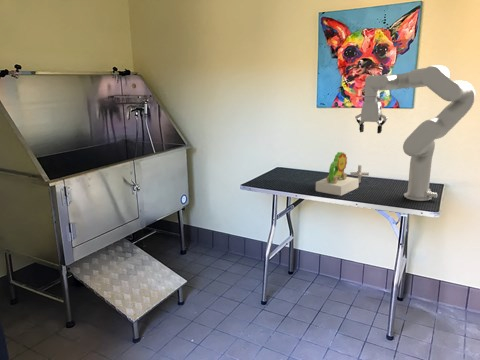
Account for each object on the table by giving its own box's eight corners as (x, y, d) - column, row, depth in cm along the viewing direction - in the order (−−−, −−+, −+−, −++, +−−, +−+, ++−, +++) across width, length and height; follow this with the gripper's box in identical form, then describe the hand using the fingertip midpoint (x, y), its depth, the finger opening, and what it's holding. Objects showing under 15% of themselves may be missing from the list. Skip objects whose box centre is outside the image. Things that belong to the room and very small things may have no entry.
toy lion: (335, 184, 208) (336, 155, 205) (325, 182, 212) (326, 154, 208) (349, 178, 220) (350, 151, 216) (340, 176, 223) (341, 150, 220)
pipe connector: (368, 184, 224) (369, 167, 221) (350, 184, 226) (351, 167, 223) (367, 180, 233) (368, 163, 231) (349, 180, 235) (350, 163, 233)
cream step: (358, 187, 219) (358, 178, 218) (340, 195, 205) (341, 186, 204) (334, 183, 229) (334, 174, 228) (315, 190, 215) (315, 182, 214)
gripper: (391, 99, 205) (389, 132, 209) (359, 99, 216) (358, 130, 221) (385, 100, 200) (383, 134, 204) (353, 100, 211) (351, 132, 215)
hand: (370, 132), depth 212 cm, fingers open, 9 cm apart
